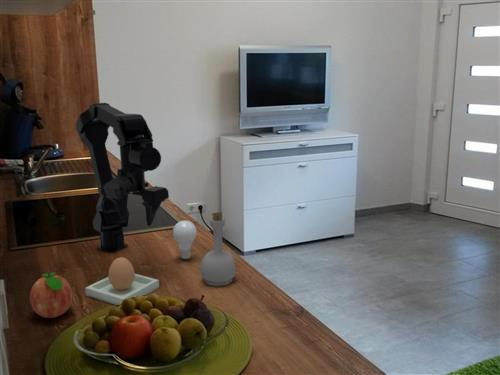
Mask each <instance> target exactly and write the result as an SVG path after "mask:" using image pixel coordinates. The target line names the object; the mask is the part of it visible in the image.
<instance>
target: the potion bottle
mask: <svg viewBox="0 0 500 375" xmlns="http://www.w3.org/2000/svg"><path fill="white" fill-rule="evenodd" d="M209 224H210V226H211V228H212V230H213V232H212V234H213V235H212V236H213V250H211V251H207V253H205V255H204V257H203V258H202V260H201V264H200V267H199V271H200V272H201V277H202V278H204V282H205V283H206V284H207V285H209V286H212V287H213V286H214V287H222V286H227V285H229V284H231V283H232V282H233V278H235V274H236V273H237V268H236V264H235V260H234V257H233V254H232V253H231V252H230V251H228V250H224V249H223V228H224V226H225V224H226V219H225V217H223V211H221V212H220V211H219V212H213V213H211V218H210V219H209Z"/></svg>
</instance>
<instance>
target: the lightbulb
mask: <svg viewBox="0 0 500 375" xmlns="http://www.w3.org/2000/svg"><path fill="white" fill-rule="evenodd" d="M172 229H173V230H172V235H173V238H174V240H175V241H176V242H177V243H178V247H179V250H180V258H181V259H183V260H185V261H187V260H189V259H190V258H191V257H192V256H191V248H192V245H193V244H192V243H193V242H194V240H195V238H196V237H197V228H196V226H195V224H194V223H193V222H191V221H190V220H181V221H178V222H177V223H176V224H174V227H173V228H172Z"/></svg>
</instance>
